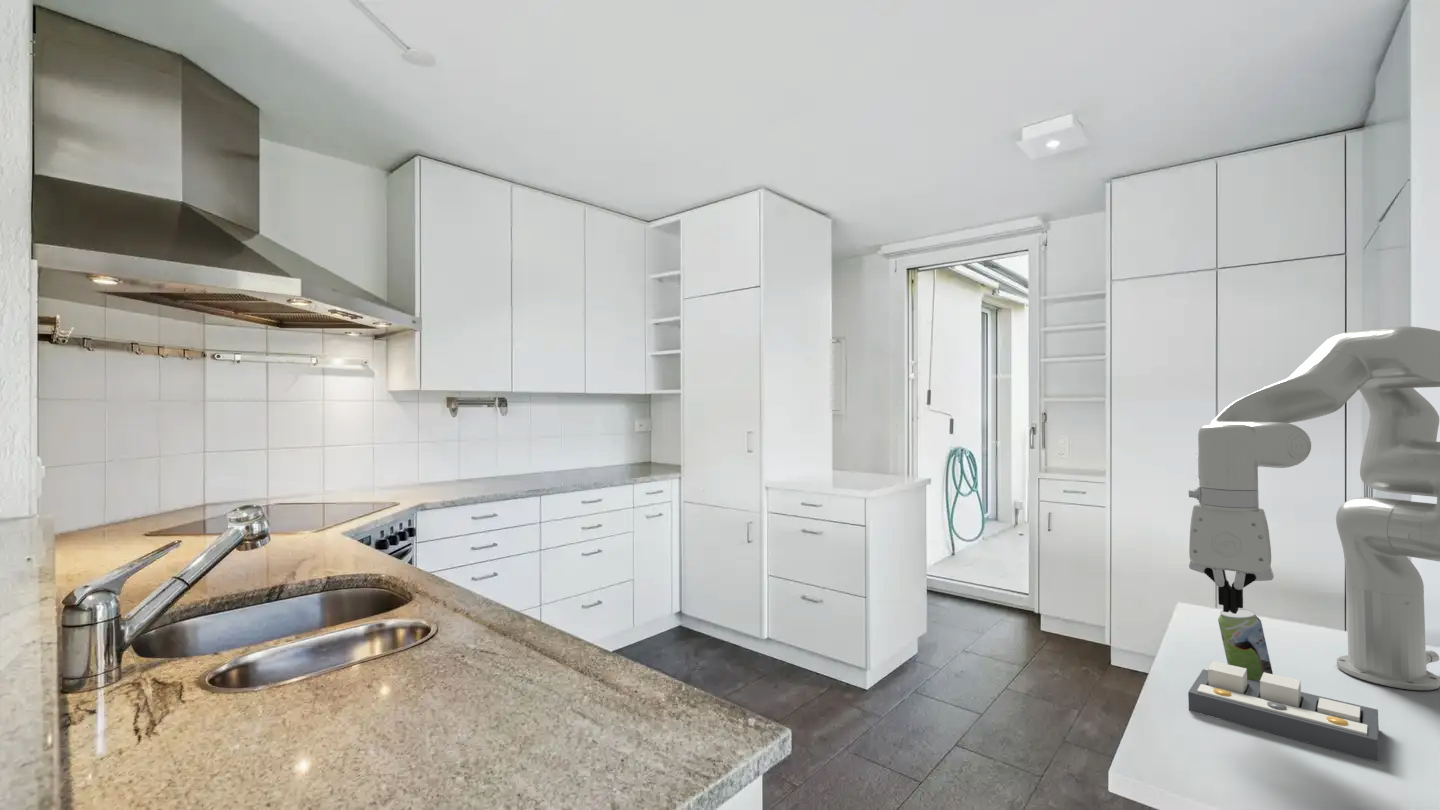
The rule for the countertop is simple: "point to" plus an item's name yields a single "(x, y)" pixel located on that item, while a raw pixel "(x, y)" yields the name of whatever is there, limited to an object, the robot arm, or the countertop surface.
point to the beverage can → (1245, 642)
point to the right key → (1339, 709)
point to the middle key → (1280, 689)
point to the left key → (1227, 677)
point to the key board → (1288, 718)
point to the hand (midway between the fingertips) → (1230, 610)
